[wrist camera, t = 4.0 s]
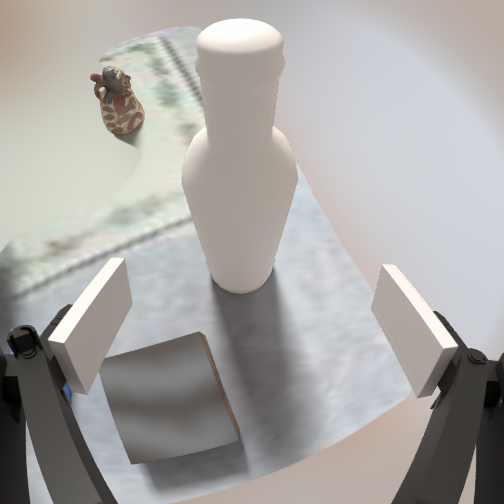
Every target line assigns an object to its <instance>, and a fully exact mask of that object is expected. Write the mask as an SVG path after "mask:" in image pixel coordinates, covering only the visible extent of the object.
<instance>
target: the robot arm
mask: <svg viewBox="0 0 504 504" xmlns="http://www.w3.org/2000/svg"><path fill="white" fill-rule="evenodd" d="M132 304H133V303H132V298H131V292H130V287H129V281H128V275H127V269H126V263H125V258H111V259H110V260H109V261H108V262H107V264H106V265H105V266H104V267H103V268H102V270H101V271H100V272H99V273H98V274H97V276H96V277H95V278H94V279H93V281H92V282H91V283H90V284H89V286H88V287H87V288H86V289H85V291H84V292H83V293H82V294H81V296H80V297H79V298H78V299H77V301H76V302H75V303H74V305H70V304H68V305H67V306H65V307H64V308H63V309H61V310H60V311H59V312H58V313H57V315H56V316H55V319H53V320H52V321H51V323H50V324H49V325H48V326H47V328H46V329H45V330H44V332H43V333H42V334H41V336H40V337H38V335H37V332H36V330H35V328H34V327H32V326H31V325H23V326H19V327H17V328H15V329H14V330H12V331H11V332H10V333H9V335H8V337H7V342H8V344H9V346H10V348H11V350H12V352H13V354H3V352H2V350H1V348H0V504H30V498H29V489H28V479H27V465H26V421H27V425H28V429H29V433H30V437H31V441H32V444H33V448H34V451H35V454H36V457H37V461H38V464H39V467H40V470H41V472H42V475H43V478H44V481H45V483H46V486H47V489H48V491H49V494H50V496H51V499H52V501H53V503H54V504H118V503H117V501H116V499H115V498H114V496H113V494H112V493H111V491H110V489H109V487H108V486H107V484H106V482H105V480H104V478H103V477H102V475H101V473H100V471H99V469H98V467H97V465H96V463H95V461H94V459H93V457H92V455H91V453H90V451H89V449H88V447H87V444H86V442H85V440H84V438H83V436H82V433H81V431H80V429H79V426H78V424H77V421H76V419H75V417H74V414H73V412H72V409H71V406H70V404H69V401H68V398H67V396H66V393H65V391H64V389H63V388H64V386H65V384H66V382H67V383H68V385H69V387H70V389H71V391H73V392H77V393H81V394H85V395H87V394H88V392H89V390H90V388H91V385H92V383H93V381H94V379H95V377H96V375H97V373H98V371H99V368H100V366H101V364H102V362H103V360H104V358H105V356H106V354H107V352H108V350H109V348H110V346H111V344H112V342H113V340H114V338H115V336H116V334H117V332H118V330H119V328H120V327H121V325H122V323H123V321H124V319H125V317H126V315H127V313H128V311H129V310H130V308H131V306H132ZM371 310H372V312H373V313H374V315H375V317H376V319H377V321H378V323H379V324H380V326H381V328H382V330H383V332H384V334H385V336H386V337H387V339H388V341H389V343H390V345H391V347H392V349H393V351H394V353H395V355H396V357H397V359H398V361H399V362H400V364H401V366H402V368H403V370H404V372H405V374H406V376H407V379H408V381H409V383H410V385H411V387H412V389H413V391H414V393H415V395H416V397H417V398H421V397H426V396H430V395H432V394H433V392H434V390H435V389H436V387H437V385H438V387H439V389H440V391H441V392H440V394H439V396H438V397H437V399H436V400H435V402H434V403H433V405H432V407H431V409H433V408H434V409H433V412H432V415H431V417H430V420H429V423H428V426H427V428H426V431H425V433H424V436H423V438H422V441H421V443H420V446H419V448H418V450H417V453H416V455H415V457H414V460H413V462H412V464H411V466H410V468H409V471H408V472H407V474H406V477H405V478H404V480H403V482H402V484H401V486H400V489H399V490H398V492H397V494H396V496H395V498H394V499H393V501H392V503H391V504H458V502H459V500H460V497H461V494H462V491H463V488H464V485H465V481H466V478H467V475H468V472H469V469H470V465H471V461H472V457H473V454H474V450H475V446H476V481H475V495H474V504H504V353H503V354H502V356H501V357H500V359H499V361H493V360H488V359H487V358H486V356H485V355H484V354H483V353H482V352H480V351H479V350H476V349H472V348H470V349H468V348H467V346H466V345H465V344H464V342H463V341H462V340H461V338H460V337H459V336H458V334H457V333H456V332H455V331H454V329H453V328H452V326H450V324H449V323H448V321H447V320H446V319H445V317H443V316H442V315H441V314H439V313H438V312H437V311H432V310H431V309H430V308H429V306H428V305H427V304H426V302H425V301H424V300H423V299H422V297H421V296H420V295H419V294H418V292H417V291H416V290H415V289H414V287H413V286H412V285H411V284H410V283H409V281H408V280H407V279H406V278H405V277H404V275H403V274H402V273H401V272H400V271H399V269H398V268H397V267H396V266H395V265H382V267H381V271H380V275H379V279H378V284H377V288H376V292H375V295H374V299H373V303H372V307H371ZM501 400H502V402H501Z"/></svg>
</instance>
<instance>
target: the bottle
mask: <svg viewBox="0 0 504 504" xmlns="http://www.w3.org/2000/svg"><path fill="white" fill-rule="evenodd" d="M283 44H284V41H283V38H282V35H281V34H280V33H279V32H278V31H277V30H275V29H274V28H273V27H272V26H270V25H268V24H265V23H263V22H260V21H256V20H251V19H232V20H225V21H221V22H217V23H215V24H213V25H211V26H209V27H207V28H206V29H205V30H204V31H203V32H202V33H201V34H200V35H199V36H198V37H197V43H196V45H197V54H196V59H195V69H196V71H197V73H198V75H199V76H200V81H201V90H202V98H203V107H204V115H205V123H206V127H204V128H203V129H202V130H201V131H200V132H199V133H198V134H196V135H195V137H194V139H193V140H192V142H191V144H190V146H189V148H188V150H187V153H186V156H185V159H184V164H183V171H182V186H183V189H184V193H185V196H186V199H187V202H188V206H189V209H190V212H191V215H192V218H193V221H194V224H195V228H196V231H197V234H198V237H199V240H200V243H201V246H202V249H203V252H204V255H205V258H206V264H207V267H208V269H209V272H210V274H211V276H212V278H213V280H214V281H215V282H216V283H217V284H218V285H219V286H220V287H221V288H223V289H225V290H227V291H229V292H230V293H238V294H244V293H249V292H253V291H255V290H256V289H258V288H259V287H261V286H262V285H263V284H264V283H265V281H266V280H267V279H268V278H269V276H270V274H271V272H272V268H273V265H274V262H275V256H276V252H277V249H278V246H279V242H280V239H281V236H282V233H283V229H284V226H285V223H286V219H287V216H288V213H289V209H290V206H291V202H292V199H293V196H294V192H295V188H296V185H297V181H298V176H297V169H296V163H295V159H294V155H293V152H292V149H291V146H290V144H289V143H288V141H287V140H286V138H285V136H284V135H283V133H282V132H280V131H279V130H278V129H276V128H275V127H274V126H273V123H274V115H275V107H276V99H277V92H278V84H279V77H280V76H281V73H282V71H283V69H284V64H285V60H284V56H283V53H282V51H283Z"/></svg>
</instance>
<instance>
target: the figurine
mask: <svg viewBox="0 0 504 504" xmlns="http://www.w3.org/2000/svg"><path fill="white" fill-rule="evenodd" d="M130 78H131V77H130V76H128V75H125V74H124V73H123V71H122V70H121V69H119V68H116V67H111V66H108V67H105V68H104V69H103V73H102V75H98V74H94V73H93V74H92V75H91V76H90V79H91V80H92V81H94V82H96V84H95V87H94V90H95V95H96V97H97V98H98V99H99V100H100V106H101V113H102V117H103V121H104V123H105V126H106V128H107V129H108V130H109V131H110V132H111V133H113V134H115V135H117V134H126V133H129V132H131V131H133V130H134V129H135V128H136V127H137V126H138V125H139V124H140V123H141V122H142V121H143V120H144V119H145V117H144V114H145V113H144V110H143V108H142V106H141V104H140V102H139V101H138V100H137V99H136V97H135V95H134V93H133V91H132V90H131V84H130V82H129V81H130ZM101 87H105V89H104V90H103V91H102V92H100V91H98V90H99V89H100V88H101Z"/></svg>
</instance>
